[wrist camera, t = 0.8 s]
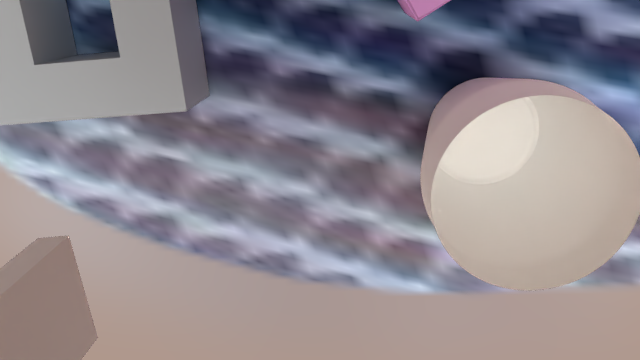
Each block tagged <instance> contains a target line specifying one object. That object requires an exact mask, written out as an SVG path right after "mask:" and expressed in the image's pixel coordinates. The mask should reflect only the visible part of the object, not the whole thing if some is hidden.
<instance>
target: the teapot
mask: <svg viewBox="0 0 640 360" xmlns="http://www.w3.org/2000/svg"><path fill="white" fill-rule="evenodd" d="M397 1H398V2H399V4H400V6H401V8H402V9H403V11H404V13H406V14H407V15H409V16H410V17H412V18H413V19H415V20H416V21H419V20H421V19H422V18H424V17H425V16H427V15H429V14H430V13H432V12H433V11H435V10H436V9H438V8H439V7H441V6H442V5H444V4H446V3H447V2H449V1H450V0H397Z"/></svg>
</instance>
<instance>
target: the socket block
mask: <svg viewBox="0 0 640 360" xmlns="http://www.w3.org/2000/svg"><path fill="white" fill-rule="evenodd" d="M110 5H111V10H112V15H113V21H114V26H115V32H116V37H117V42H118V48H119V51H117V52H106V53H94V54H82V55H77V51H76V47H75V42H74V37H73V32H72V27H71V23H70V18H69V13H68V8H67V3H66V0H0V125H11V124H24V123H37V122H51V121H64V120H77V119H91V118H104V117H117V116H131V115H144V114H157V113H171V112H184V111H188V110H189V109H191V108H192V107H194V106H195V105H196V104H198V103H199V102H201V101H202V100H204V99H205V98H207V97H208V96H209V95H210V93H209V86H208V80H207V73H206V66H205V59H204V52H203V45H202V38H201V31H200V24H199V18H198V11H197V4H196V0H110Z"/></svg>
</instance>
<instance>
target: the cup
mask: <svg viewBox="0 0 640 360" xmlns="http://www.w3.org/2000/svg"><path fill="white" fill-rule="evenodd" d="M420 179H421V192H422V198H423V202H424V205H425V208H426V211H427V213H428V216H429V217H430V219H431V221H432V223H433V225H434V227H435V229H436V232H437V234H438V237H439V239H440V241H441V242H442V244H443V246H444V248H445V249H446V251H447V252H448V253H449V255H450V256H451V257H452V258H453V259H454V260H455V261H456V262H457V263H458V264H459V265H460V266H461V267H462V268H463V269H465V270H466V271H467V272H469V273H470V274H472V275H473V276H475V277H477V278H479V279H481V280H482V281H485V282H487V283H490V284H492V285H495V286H499V287H502V288H507V289H513V290H526V291H532V290H544V289H551V288H555V287H559V286H563V285H566V284H569V283H571V282H574V281H576V280H579V279H581V278H583V277H585V276H587V275H588V274H590V273H592V272H593V271H595V270H596V269H598V268H599V267H600V266H602V265H603V264H604V263H606V262H607V261H608V260H609V259H610V258H611V257H612V256H613V255H614V254H615V253H616V252H617V251H618V250H619V249H620V247H621V246H622V245H623V244H624V242H625V241H626V239H627V238H628V236H629V235H630V233H631V231H632V229H633V227H634V225H635V223H636V221H637V218H638V216H639V213H640V157H639V155H638V152H637V150H636V147H635V146H634V144H633V142H632V140H631V139H630V137H629V136H628V134H627V133H626V131H625V130H624V129H623V128H622V127H621V126H620V125H619V124H618V123H617V122H616V121H615V120H614V119H613V118H612V117H610V116H609V115H608V114H606V113H605V112H603V111H602V110H601V109H599V108H598V107H597V106H595V105H594V104H593V103H592V102H591V101H590V100H588V99H587V98H585V97H584V96H583V95H581V94H579V93H578V92H576V91H574V90H572V89H570V88H567V87H565V86H562V85H559V84H556V83H552V82H548V81H543V80H535V79H517V78H477V79H472V80H469V81H466V82H463V83H461V84H459V85H457V86H456V87H454V88H453V89H451V90H450V91H449V92H447V93H446V94H445V95H444V96H443V97H442V99H441V100H440V101H439V102H438V104H437V105H436V107H435V108H434V110H433V112H432V115H431V118H430V121H429V125H428V130H427V136H426V141H425V146H424V152H423V158H422V164H421V176H420Z"/></svg>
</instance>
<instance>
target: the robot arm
mask: <svg viewBox="0 0 640 360" xmlns="http://www.w3.org/2000/svg"><path fill="white" fill-rule="evenodd" d="M97 338H98V337H97V333H96V330H95V326H94V323H93V319H92V316H91V312H90V309H89V305H88V302H87V298H86V295H85V291H84V287H83V284H82V281H81V277H80V273H79V270H78V266H77V263H76V259H75V256H74V252H73V249H72V245H71V242H70V238H69V236H58V237H48V238H38V239H36V240H35V241H34V242H33V243H31V244H30V245H29V246H28V247H26V248H25V249H24V250H23V251H21V252H20V253H19V254H18V255H16V256H15V257H14V258H13V259H11V260H10V261H9V262H8V263H6V264H5V265H4V266H3V267H2V268H0V360H82V358H83V357H84V355H85V354H86V353H87V352H88V350H89V349H90V347H91V346H92V345H93V343H94V342H95V341H96V339H97Z"/></svg>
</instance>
